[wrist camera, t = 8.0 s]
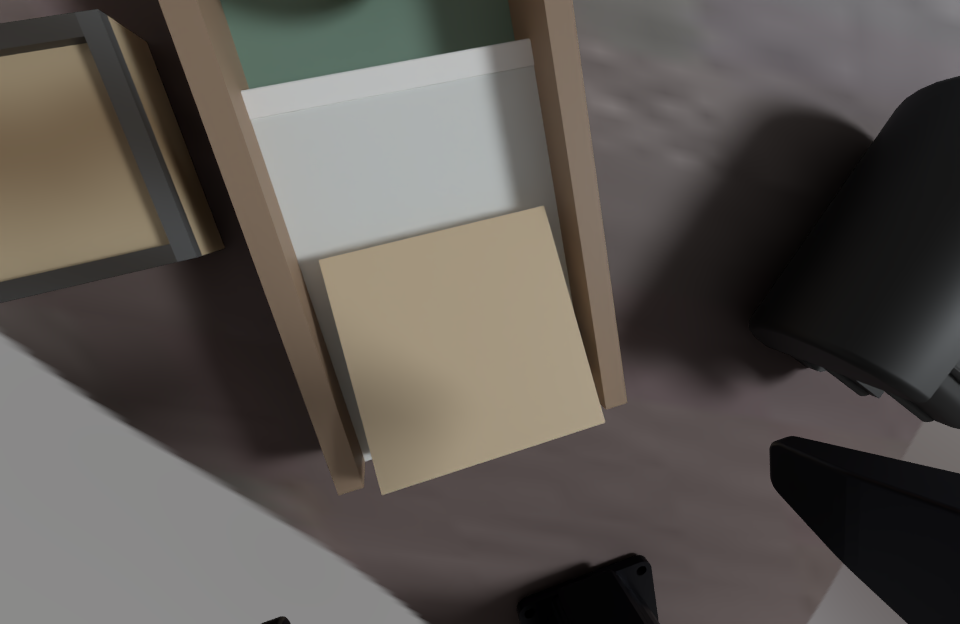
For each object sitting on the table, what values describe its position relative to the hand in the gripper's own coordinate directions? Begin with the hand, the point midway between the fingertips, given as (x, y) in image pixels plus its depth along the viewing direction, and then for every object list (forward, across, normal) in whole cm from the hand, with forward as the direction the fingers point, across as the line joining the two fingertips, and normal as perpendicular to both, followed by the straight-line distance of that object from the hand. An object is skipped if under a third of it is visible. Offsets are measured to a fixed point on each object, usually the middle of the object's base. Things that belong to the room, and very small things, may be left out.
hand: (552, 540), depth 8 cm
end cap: (+10, -17, 0) cm, 20 cm away
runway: (+10, 0, -7) cm, 12 cm away
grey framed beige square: (+10, +9, -9) cm, 16 cm away
